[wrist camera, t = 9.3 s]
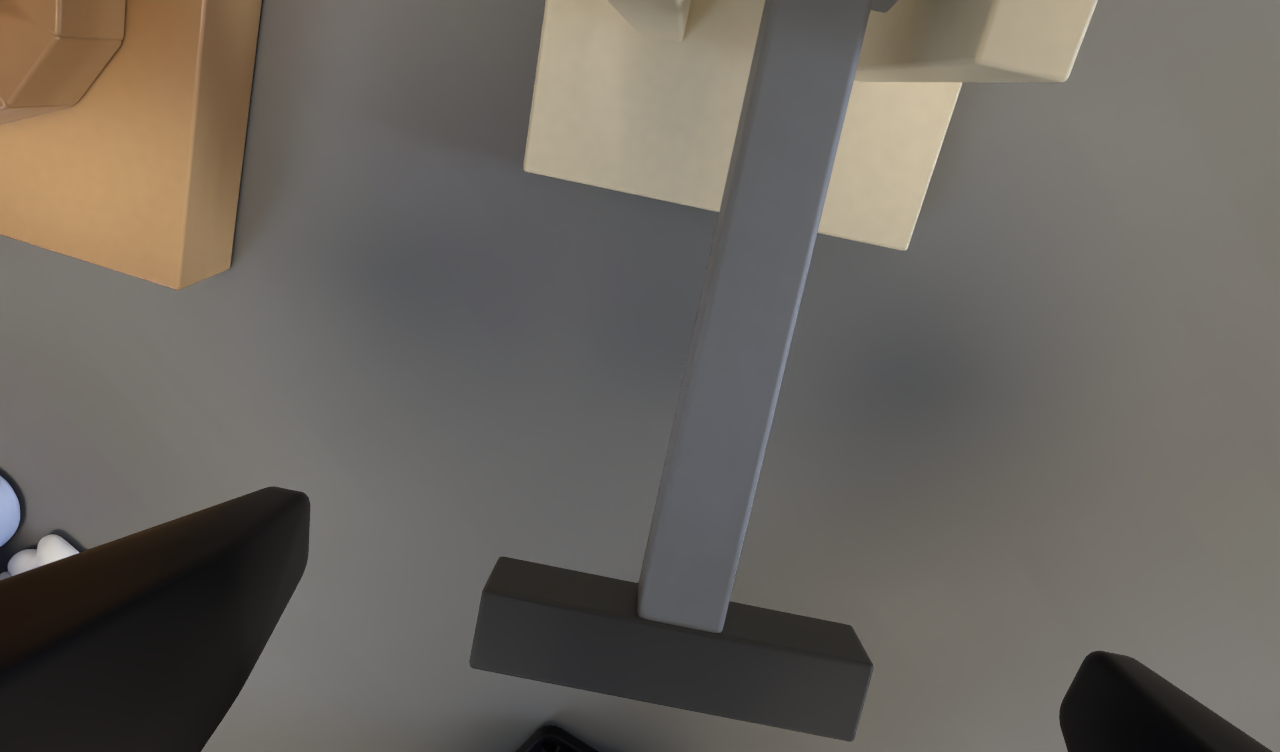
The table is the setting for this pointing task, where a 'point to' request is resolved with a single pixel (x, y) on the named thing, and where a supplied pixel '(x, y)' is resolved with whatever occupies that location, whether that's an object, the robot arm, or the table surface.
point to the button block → (126, 130)
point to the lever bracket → (716, 83)
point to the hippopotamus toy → (3, 522)
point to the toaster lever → (718, 442)
